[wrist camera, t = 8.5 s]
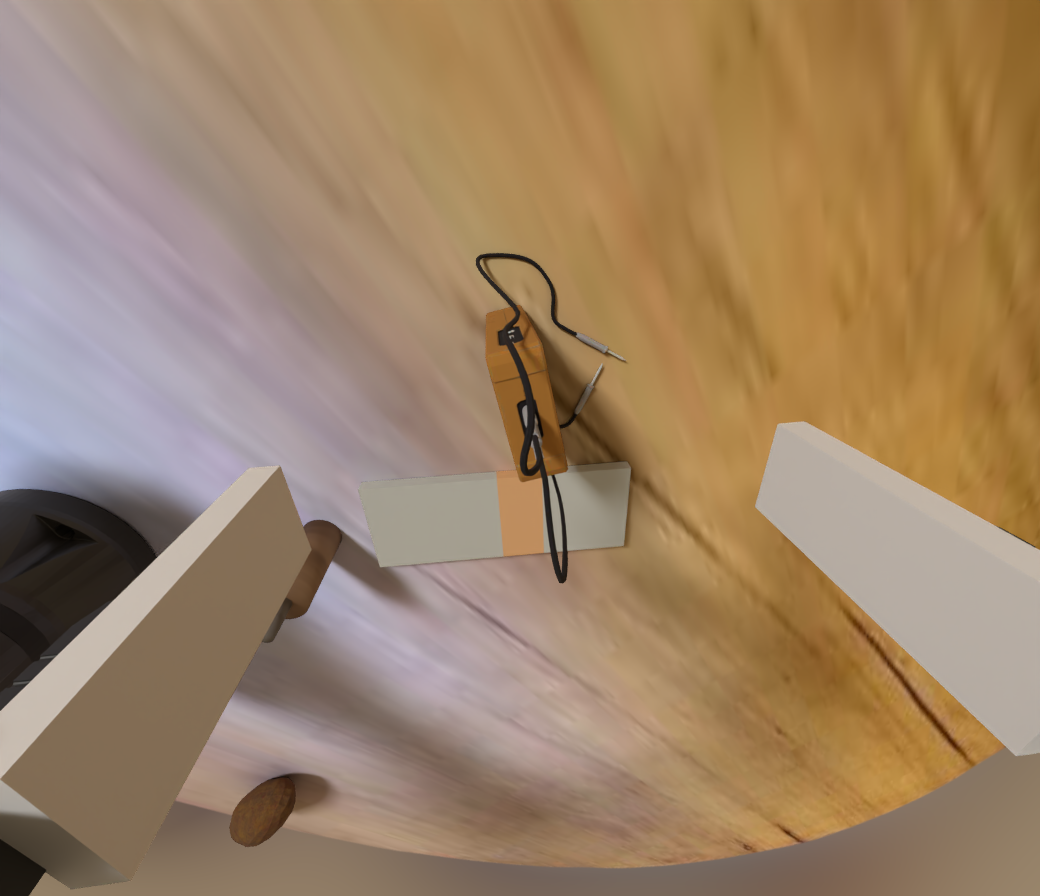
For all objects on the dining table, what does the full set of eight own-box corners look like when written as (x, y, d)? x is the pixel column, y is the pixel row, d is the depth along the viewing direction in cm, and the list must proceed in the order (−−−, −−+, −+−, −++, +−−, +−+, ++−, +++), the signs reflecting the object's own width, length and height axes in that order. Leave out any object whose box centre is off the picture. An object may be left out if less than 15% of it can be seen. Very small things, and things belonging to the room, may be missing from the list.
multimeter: (630, 411, 34) (783, 591, 17) (518, 438, 35) (551, 643, 17) (609, 220, 28) (830, 183, 10) (470, 257, 28) (442, 285, 10)
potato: (234, 793, 58) (204, 859, 52) (266, 756, 54) (238, 822, 48) (280, 804, 60) (256, 868, 54) (314, 768, 56) (293, 833, 50)
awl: (308, 551, 39) (248, 655, 29) (296, 521, 37) (228, 621, 27) (345, 548, 39) (298, 651, 29) (336, 518, 37) (282, 616, 27)
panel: (382, 558, 40) (380, 567, 39) (361, 482, 36) (358, 489, 34) (620, 537, 41) (623, 545, 40) (626, 461, 37) (631, 467, 36)
